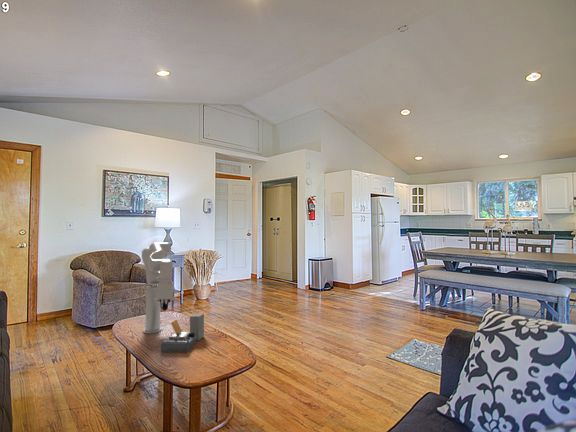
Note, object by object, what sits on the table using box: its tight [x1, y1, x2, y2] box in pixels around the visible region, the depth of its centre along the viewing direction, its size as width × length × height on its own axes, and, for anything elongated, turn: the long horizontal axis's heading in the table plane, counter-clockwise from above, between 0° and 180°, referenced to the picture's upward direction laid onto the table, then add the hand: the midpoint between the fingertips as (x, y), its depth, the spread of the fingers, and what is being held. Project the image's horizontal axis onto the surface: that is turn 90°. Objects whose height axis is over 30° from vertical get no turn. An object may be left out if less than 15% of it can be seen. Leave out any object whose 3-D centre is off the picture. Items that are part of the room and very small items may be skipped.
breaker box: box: [160, 331, 197, 354], centre depth 188 cm, size 16×16×8 cm
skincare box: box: [189, 313, 205, 342], centre depth 203 cm, size 8×7×16 cm
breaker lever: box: [170, 319, 183, 335], centre depth 189 cm, size 5×2×8 cm, turn 178°
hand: (164, 309), depth 189 cm, fingers closed
